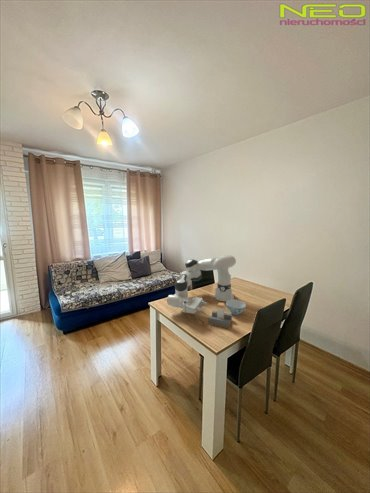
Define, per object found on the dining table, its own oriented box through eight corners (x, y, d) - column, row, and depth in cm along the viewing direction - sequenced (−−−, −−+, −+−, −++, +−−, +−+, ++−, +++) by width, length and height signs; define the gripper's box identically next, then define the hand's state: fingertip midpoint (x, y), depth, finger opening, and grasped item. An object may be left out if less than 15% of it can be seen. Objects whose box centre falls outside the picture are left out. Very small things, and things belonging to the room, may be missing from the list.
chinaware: (236, 319, 145) (237, 309, 144) (221, 311, 157) (222, 302, 156) (249, 314, 154) (250, 304, 152) (234, 307, 166) (234, 298, 164)
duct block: (212, 316, 150) (213, 310, 149) (231, 320, 145) (232, 314, 144) (208, 324, 139) (208, 318, 138) (228, 328, 133) (229, 322, 133)
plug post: (218, 318, 144) (219, 302, 142) (223, 319, 142) (224, 303, 141) (216, 320, 140) (217, 304, 138) (222, 322, 139) (223, 305, 137)
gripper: (191, 301, 159) (208, 304, 154) (182, 313, 140) (201, 317, 135) (192, 294, 158) (209, 297, 153) (182, 304, 139) (201, 308, 134)
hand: (205, 306), depth 144 cm, fingers open, 8 cm apart
